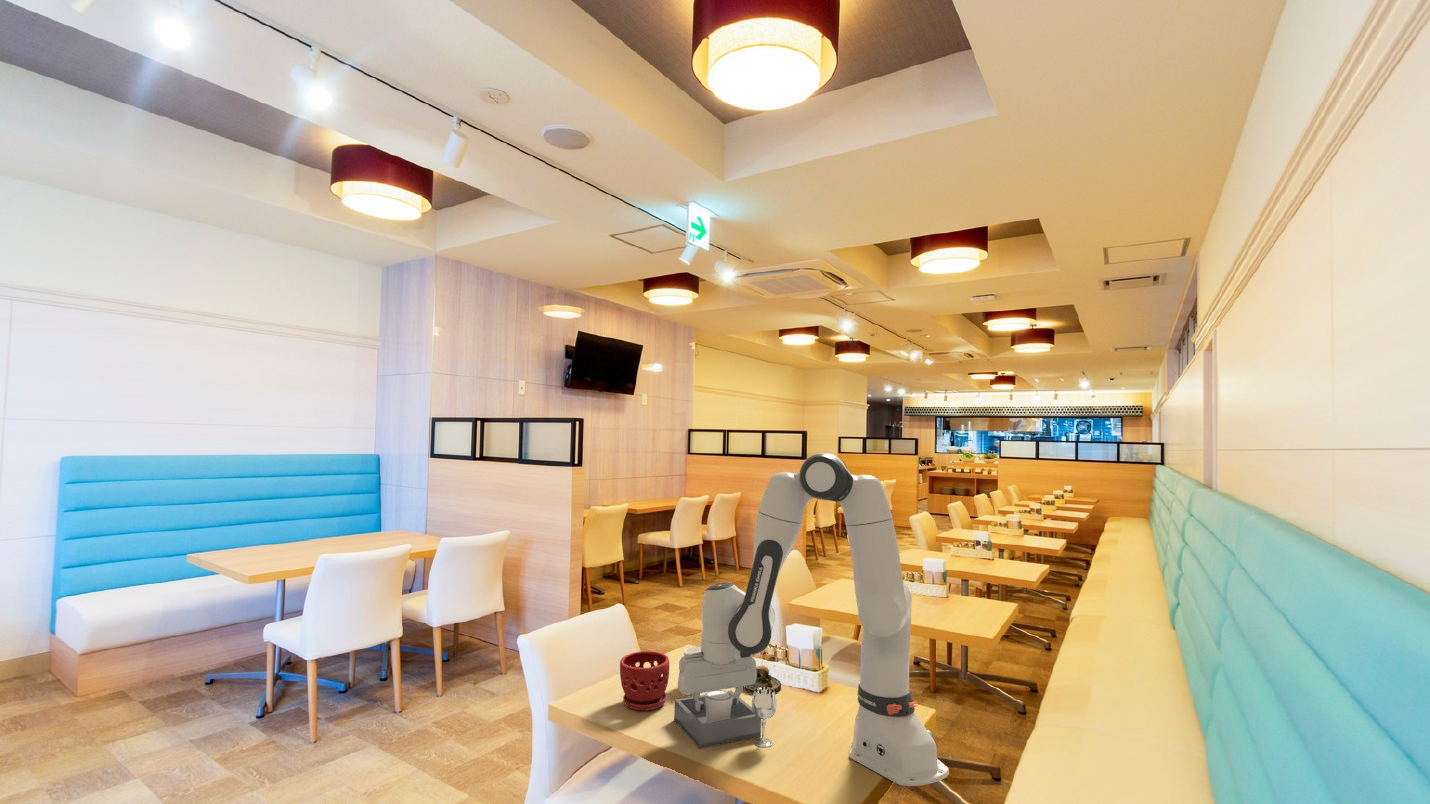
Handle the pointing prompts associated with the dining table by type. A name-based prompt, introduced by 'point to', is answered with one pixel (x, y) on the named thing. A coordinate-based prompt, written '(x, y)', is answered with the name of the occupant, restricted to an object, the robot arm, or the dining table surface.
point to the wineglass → (763, 710)
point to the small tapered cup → (718, 705)
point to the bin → (716, 723)
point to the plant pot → (644, 680)
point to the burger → (764, 679)
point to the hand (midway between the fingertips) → (717, 706)
